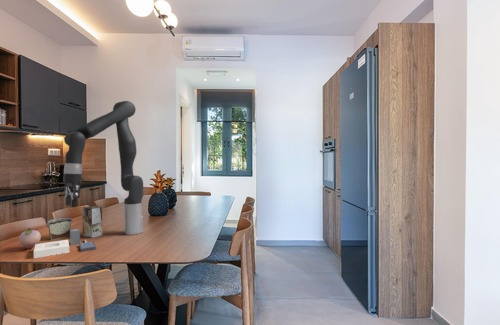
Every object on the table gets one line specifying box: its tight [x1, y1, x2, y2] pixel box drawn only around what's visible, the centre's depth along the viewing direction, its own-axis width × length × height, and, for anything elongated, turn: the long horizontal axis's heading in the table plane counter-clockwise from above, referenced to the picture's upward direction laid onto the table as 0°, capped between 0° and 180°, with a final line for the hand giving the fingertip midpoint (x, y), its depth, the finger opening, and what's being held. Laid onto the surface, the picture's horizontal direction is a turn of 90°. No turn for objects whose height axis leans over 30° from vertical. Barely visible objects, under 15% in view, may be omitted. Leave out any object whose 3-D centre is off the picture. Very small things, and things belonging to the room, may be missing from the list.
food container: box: [46, 217, 73, 241], centre depth 156 cm, size 12×6×10 cm, turn 149°
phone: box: [78, 239, 97, 253], centre depth 141 cm, size 6×19×1 cm, turn 35°
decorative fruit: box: [18, 227, 42, 249], centre depth 137 cm, size 9×8×10 cm
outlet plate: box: [33, 239, 70, 259], centre depth 132 cm, size 13×13×3 cm
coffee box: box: [81, 205, 103, 239], centre depth 159 cm, size 9×6×16 cm
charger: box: [69, 228, 81, 246], centre depth 144 cm, size 4×4×7 cm
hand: (71, 206), depth 137 cm, fingers open, 8 cm apart
